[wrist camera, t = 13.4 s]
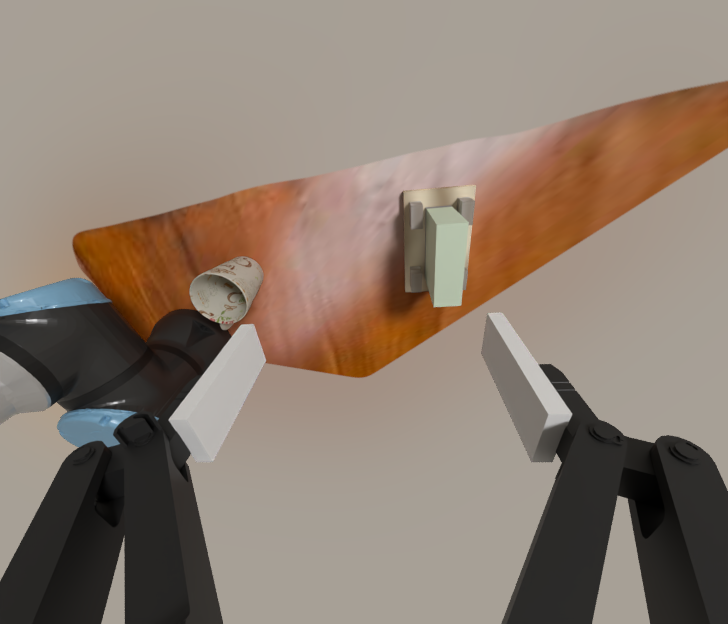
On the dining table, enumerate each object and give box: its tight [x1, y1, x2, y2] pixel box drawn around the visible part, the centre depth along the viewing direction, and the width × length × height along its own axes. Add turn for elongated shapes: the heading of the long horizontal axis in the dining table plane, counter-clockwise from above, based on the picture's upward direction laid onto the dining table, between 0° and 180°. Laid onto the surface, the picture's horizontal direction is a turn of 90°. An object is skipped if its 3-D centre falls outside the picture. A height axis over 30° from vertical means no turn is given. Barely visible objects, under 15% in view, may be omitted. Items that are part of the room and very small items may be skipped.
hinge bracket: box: [403, 185, 476, 293], centre depth 44 cm, size 10×16×4 cm, turn 5°
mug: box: [190, 256, 263, 330], centre depth 47 cm, size 8×13×10 cm, turn 165°
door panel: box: [425, 205, 469, 307], centre depth 40 cm, size 4×11×10 cm, turn 5°
